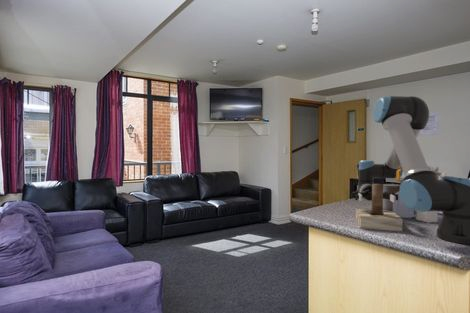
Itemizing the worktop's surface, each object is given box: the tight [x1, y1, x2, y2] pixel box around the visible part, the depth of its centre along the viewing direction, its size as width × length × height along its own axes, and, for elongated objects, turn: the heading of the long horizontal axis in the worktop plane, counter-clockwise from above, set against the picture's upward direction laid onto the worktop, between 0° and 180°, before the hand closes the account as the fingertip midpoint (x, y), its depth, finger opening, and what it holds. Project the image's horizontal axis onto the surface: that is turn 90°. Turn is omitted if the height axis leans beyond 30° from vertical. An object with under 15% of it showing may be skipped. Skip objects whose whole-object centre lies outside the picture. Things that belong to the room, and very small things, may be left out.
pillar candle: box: [383, 182, 401, 211], centre depth 170 cm, size 10×10×15 cm
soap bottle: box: [393, 168, 415, 219], centre depth 152 cm, size 9×9×25 cm
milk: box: [415, 211, 438, 223], centre depth 143 cm, size 6×6×22 cm
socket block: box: [355, 209, 404, 232], centre depth 135 cm, size 16×16×5 cm
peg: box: [371, 183, 384, 216], centre depth 135 cm, size 4×4×18 cm
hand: (377, 199), depth 134 cm, fingers open, 13 cm apart
